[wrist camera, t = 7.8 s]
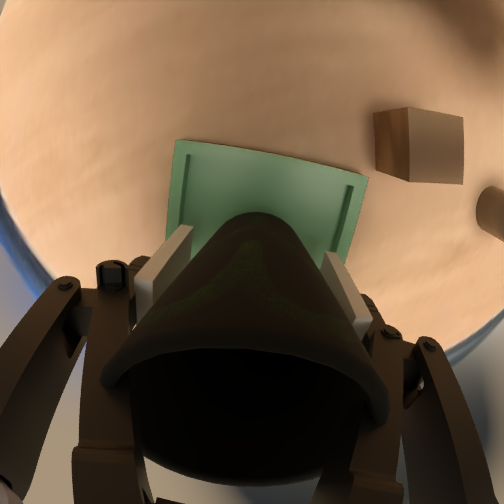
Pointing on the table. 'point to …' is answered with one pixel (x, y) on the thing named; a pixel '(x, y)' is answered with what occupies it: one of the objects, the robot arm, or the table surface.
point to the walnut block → (420, 145)
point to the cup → (247, 362)
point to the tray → (263, 195)
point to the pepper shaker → (491, 212)
